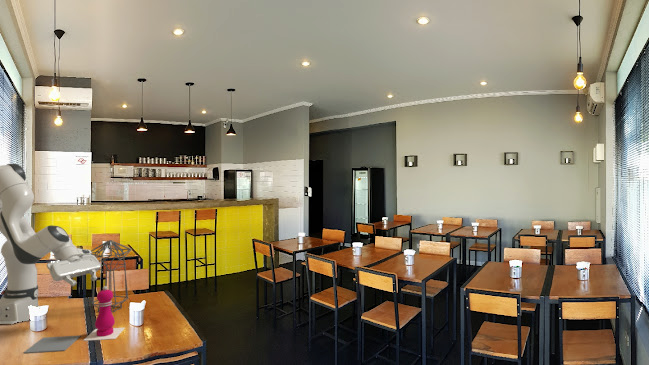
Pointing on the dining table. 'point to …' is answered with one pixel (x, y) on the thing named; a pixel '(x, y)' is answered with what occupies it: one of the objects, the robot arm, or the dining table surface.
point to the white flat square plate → (113, 336)
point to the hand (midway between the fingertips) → (85, 282)
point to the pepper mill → (104, 313)
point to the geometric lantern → (104, 245)
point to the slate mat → (52, 344)
